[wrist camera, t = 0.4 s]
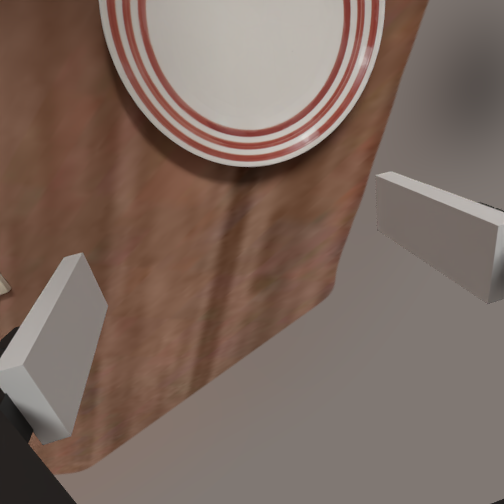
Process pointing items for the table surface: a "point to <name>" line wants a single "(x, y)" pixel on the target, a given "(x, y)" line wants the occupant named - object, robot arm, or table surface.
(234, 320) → the table surface
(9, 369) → the robot arm
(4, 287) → the board
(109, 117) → the table surface
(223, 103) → the dinner plate
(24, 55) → the table surface
